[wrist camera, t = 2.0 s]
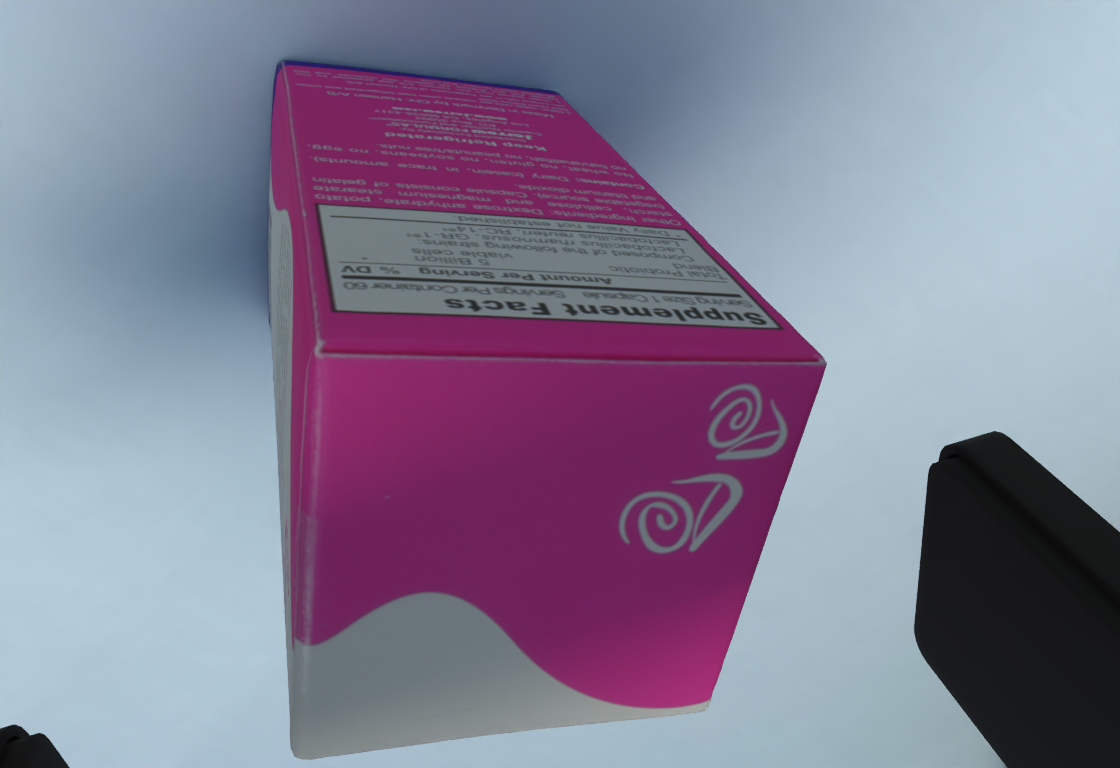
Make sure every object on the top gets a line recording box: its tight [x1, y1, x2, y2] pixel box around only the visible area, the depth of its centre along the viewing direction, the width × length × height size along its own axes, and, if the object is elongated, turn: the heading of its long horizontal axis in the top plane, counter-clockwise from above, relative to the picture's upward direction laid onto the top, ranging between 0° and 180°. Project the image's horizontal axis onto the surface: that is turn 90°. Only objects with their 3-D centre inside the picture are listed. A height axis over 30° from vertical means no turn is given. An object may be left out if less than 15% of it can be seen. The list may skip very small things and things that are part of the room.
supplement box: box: [268, 61, 827, 759], centre depth 15 cm, size 6×6×12 cm
